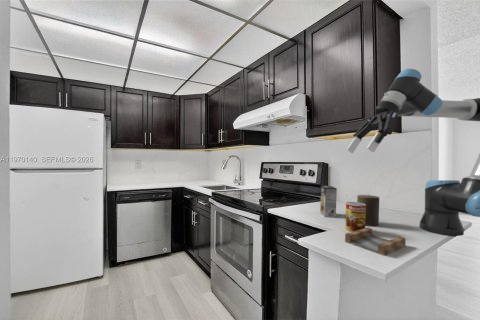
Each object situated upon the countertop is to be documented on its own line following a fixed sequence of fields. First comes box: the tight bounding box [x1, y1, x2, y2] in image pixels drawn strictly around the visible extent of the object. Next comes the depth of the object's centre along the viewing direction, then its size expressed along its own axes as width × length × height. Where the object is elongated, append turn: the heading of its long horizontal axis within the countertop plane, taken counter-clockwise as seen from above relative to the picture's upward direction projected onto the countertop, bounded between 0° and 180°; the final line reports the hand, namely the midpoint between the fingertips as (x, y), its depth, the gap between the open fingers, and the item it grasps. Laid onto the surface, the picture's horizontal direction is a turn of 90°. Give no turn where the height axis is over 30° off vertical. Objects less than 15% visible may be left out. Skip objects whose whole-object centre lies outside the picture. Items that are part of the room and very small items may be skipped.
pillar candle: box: [356, 194, 380, 227], centre depth 112 cm, size 10×10×15 cm
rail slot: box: [344, 227, 407, 256], centre depth 85 cm, size 16×14×3 cm
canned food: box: [345, 201, 366, 233], centre depth 101 cm, size 8×8×12 cm
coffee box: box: [319, 185, 338, 218], centre depth 127 cm, size 9×6×16 cm
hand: (359, 150), depth 86 cm, fingers open, 13 cm apart
